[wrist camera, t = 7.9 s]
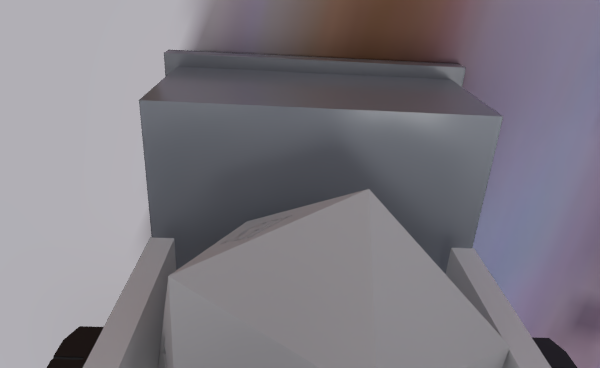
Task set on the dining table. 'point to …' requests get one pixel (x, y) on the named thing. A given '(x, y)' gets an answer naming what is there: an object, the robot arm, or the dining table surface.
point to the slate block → (313, 144)
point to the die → (322, 298)
